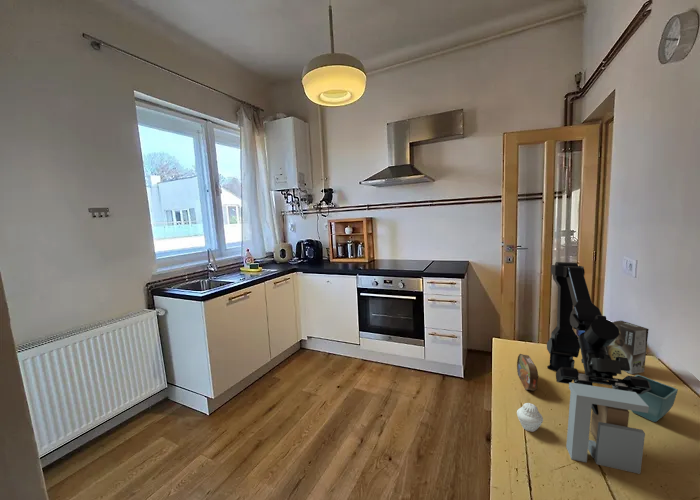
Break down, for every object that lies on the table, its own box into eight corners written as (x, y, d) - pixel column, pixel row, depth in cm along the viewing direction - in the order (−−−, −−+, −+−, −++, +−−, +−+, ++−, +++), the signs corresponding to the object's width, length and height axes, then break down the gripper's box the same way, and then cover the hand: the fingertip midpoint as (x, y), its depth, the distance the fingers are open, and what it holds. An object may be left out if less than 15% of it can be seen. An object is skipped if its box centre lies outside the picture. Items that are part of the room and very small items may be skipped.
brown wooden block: (590, 431, 80) (594, 389, 78) (609, 434, 79) (613, 391, 77) (603, 454, 73) (607, 408, 71) (624, 458, 71) (629, 412, 70)
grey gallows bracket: (564, 442, 78) (569, 382, 76) (629, 456, 73) (636, 392, 71) (571, 459, 73) (576, 395, 70) (641, 475, 68) (650, 406, 66)
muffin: (514, 418, 87) (515, 395, 86) (538, 422, 85) (540, 399, 84) (518, 433, 81) (520, 409, 80) (545, 438, 79) (546, 413, 78)
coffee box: (645, 372, 109) (650, 328, 107) (631, 374, 108) (636, 331, 105) (617, 360, 118) (621, 319, 116) (604, 362, 116) (608, 321, 114)
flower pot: (661, 430, 81) (665, 398, 80) (620, 411, 89) (623, 382, 88) (674, 418, 85) (678, 389, 84) (634, 401, 93) (637, 374, 92)
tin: (515, 371, 112) (516, 349, 111) (525, 372, 111) (526, 350, 110) (527, 395, 98) (529, 370, 96) (538, 396, 97) (540, 371, 96)
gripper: (561, 338, 81) (571, 401, 73) (651, 347, 75) (674, 418, 66) (551, 352, 90) (560, 410, 81) (632, 362, 83) (650, 427, 74)
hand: (607, 416), depth 75 cm, fingers closed on brown wooden block, 4 cm apart
